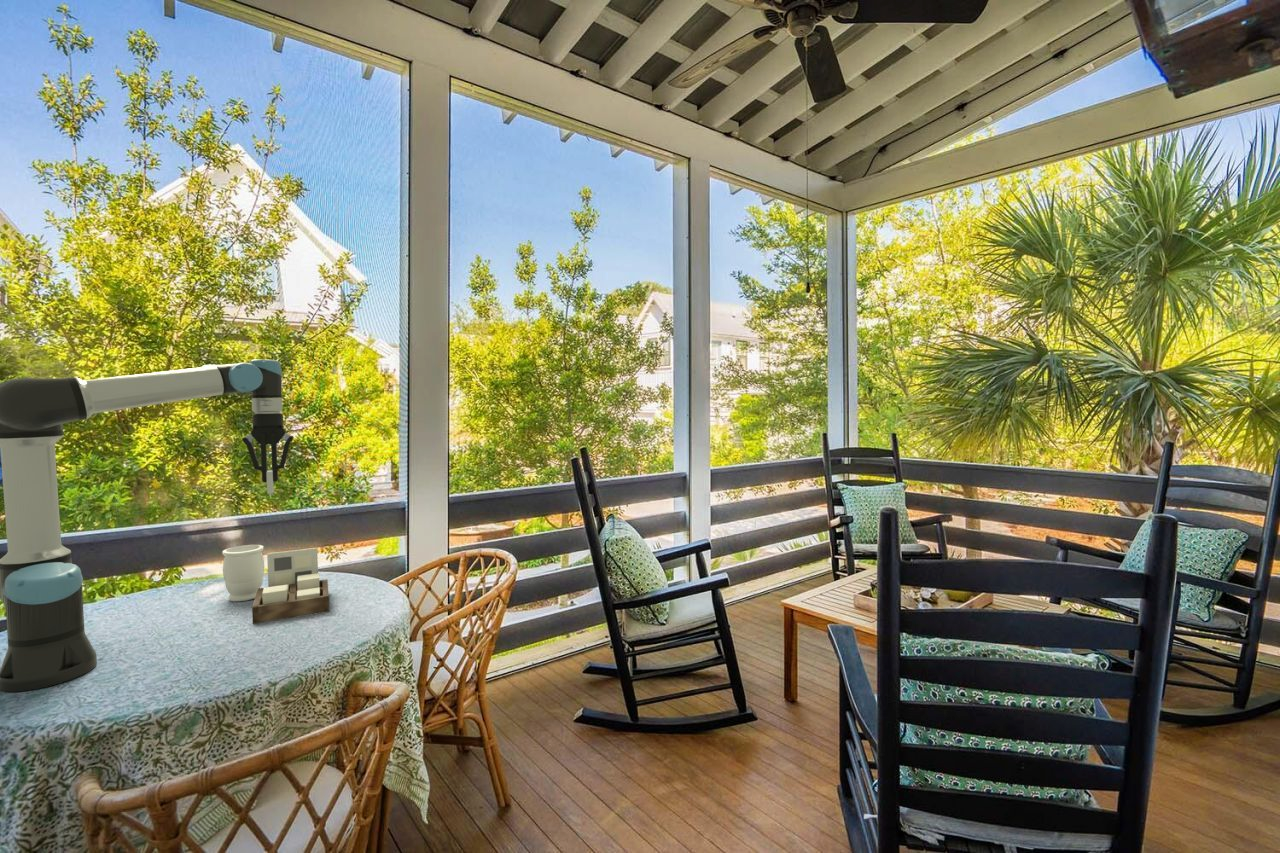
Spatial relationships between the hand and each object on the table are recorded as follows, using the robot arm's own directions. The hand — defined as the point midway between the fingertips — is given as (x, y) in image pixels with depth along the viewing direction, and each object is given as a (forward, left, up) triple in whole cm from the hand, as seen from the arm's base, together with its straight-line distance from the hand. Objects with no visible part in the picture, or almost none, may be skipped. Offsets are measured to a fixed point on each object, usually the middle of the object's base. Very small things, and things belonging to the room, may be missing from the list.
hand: (270, 493), depth 171 cm
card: (+5, +2, -32) cm, 33 cm away
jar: (-8, +9, -33) cm, 35 cm away
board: (+5, -9, -32) cm, 34 cm away
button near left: (+1, -12, -29) cm, 32 cm away
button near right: (+9, -13, -31) cm, 35 cm away
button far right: (+9, -4, -29) cm, 31 cm away
